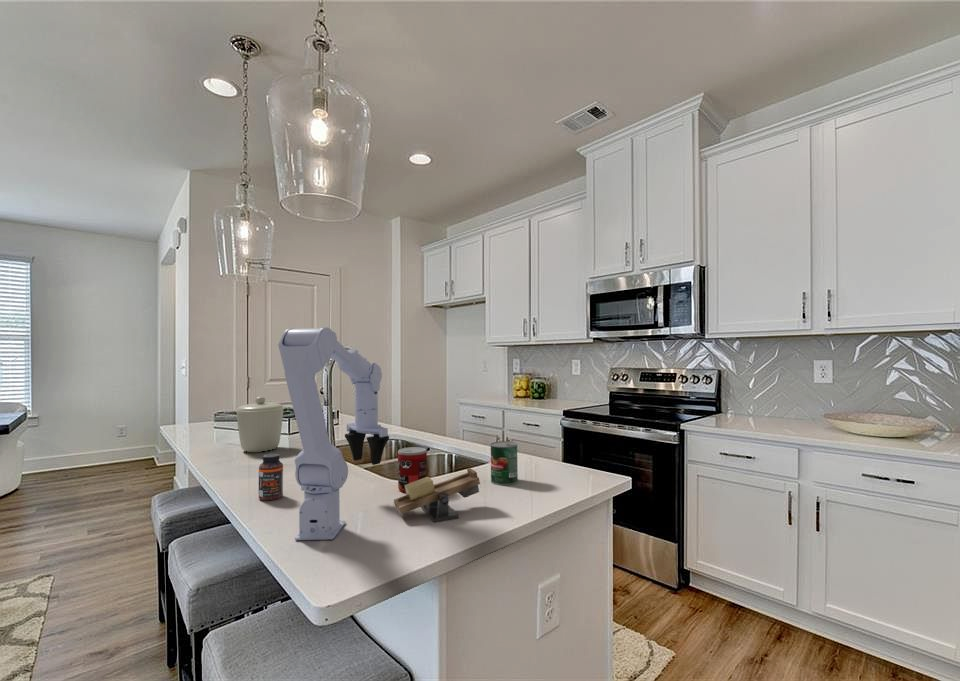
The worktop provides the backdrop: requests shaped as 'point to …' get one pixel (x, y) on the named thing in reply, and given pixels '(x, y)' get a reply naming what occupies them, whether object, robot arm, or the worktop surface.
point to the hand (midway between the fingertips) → (366, 461)
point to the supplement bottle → (270, 478)
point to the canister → (259, 425)
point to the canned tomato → (504, 463)
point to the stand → (440, 509)
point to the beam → (443, 491)
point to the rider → (419, 489)
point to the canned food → (411, 466)
